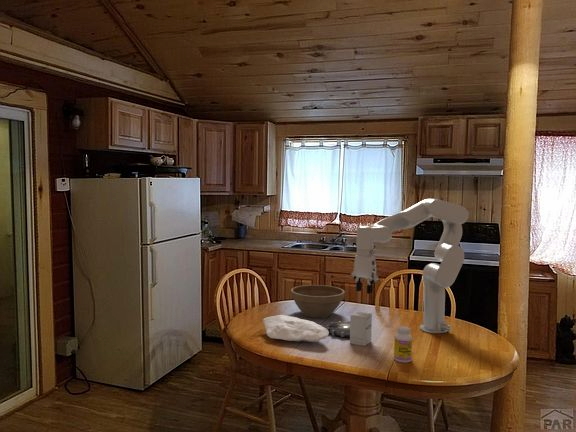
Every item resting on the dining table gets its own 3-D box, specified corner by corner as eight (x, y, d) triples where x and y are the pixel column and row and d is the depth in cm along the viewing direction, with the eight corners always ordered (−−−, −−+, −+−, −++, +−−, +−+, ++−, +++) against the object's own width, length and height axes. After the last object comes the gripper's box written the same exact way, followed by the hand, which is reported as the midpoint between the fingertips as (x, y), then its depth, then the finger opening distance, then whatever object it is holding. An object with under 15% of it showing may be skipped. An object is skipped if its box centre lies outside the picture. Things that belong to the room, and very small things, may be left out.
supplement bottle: (396, 363, 182) (396, 330, 181) (392, 356, 188) (393, 325, 187) (413, 363, 182) (414, 330, 181) (409, 356, 188) (409, 325, 187)
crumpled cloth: (282, 321, 231) (280, 303, 229) (344, 335, 210) (342, 316, 208) (251, 341, 213) (248, 322, 211) (314, 358, 192) (312, 337, 190)
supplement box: (365, 346, 200) (365, 317, 199) (349, 343, 204) (349, 314, 203) (371, 341, 206) (372, 313, 205) (356, 338, 210) (356, 310, 209)
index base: (353, 332, 218) (353, 330, 218) (346, 335, 215) (346, 333, 215) (330, 325, 229) (330, 323, 229) (323, 327, 225) (323, 325, 225)
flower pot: (316, 304, 269) (316, 281, 268) (355, 315, 248) (355, 290, 247) (279, 313, 250) (279, 289, 249) (318, 325, 229) (318, 299, 228)
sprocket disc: (373, 331, 218) (373, 318, 217) (348, 340, 206) (348, 326, 205) (343, 322, 231) (343, 310, 231) (318, 330, 219) (318, 317, 218)
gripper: (385, 254, 211) (384, 294, 213) (355, 250, 224) (354, 287, 225) (375, 256, 206) (374, 296, 208) (345, 251, 219) (344, 290, 220)
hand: (364, 291), depth 216 cm, fingers open, 5 cm apart
